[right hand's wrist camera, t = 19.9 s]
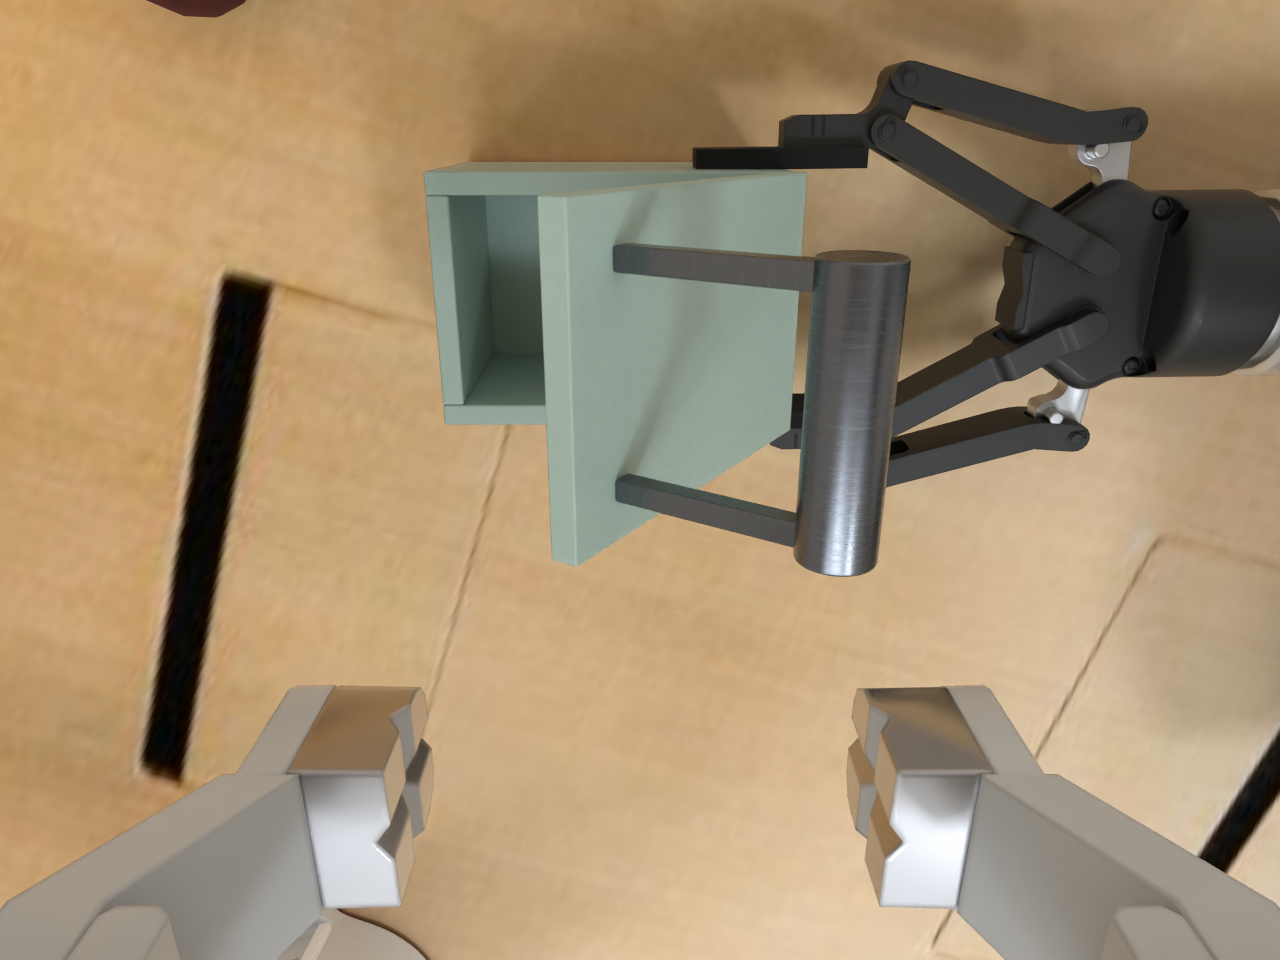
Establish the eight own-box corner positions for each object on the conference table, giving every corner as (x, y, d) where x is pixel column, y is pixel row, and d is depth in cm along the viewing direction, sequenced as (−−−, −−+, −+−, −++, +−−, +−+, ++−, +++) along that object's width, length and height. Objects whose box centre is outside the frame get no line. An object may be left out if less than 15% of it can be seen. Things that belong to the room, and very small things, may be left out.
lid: (550, 560, 25) (838, 650, 20) (535, 194, 21) (879, 211, 17) (770, 426, 36) (985, 466, 31) (784, 171, 32) (1030, 178, 28)
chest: (481, 366, 45) (444, 425, 36) (467, 161, 41) (422, 171, 32) (749, 365, 45) (778, 424, 36) (759, 161, 41) (794, 171, 32)
